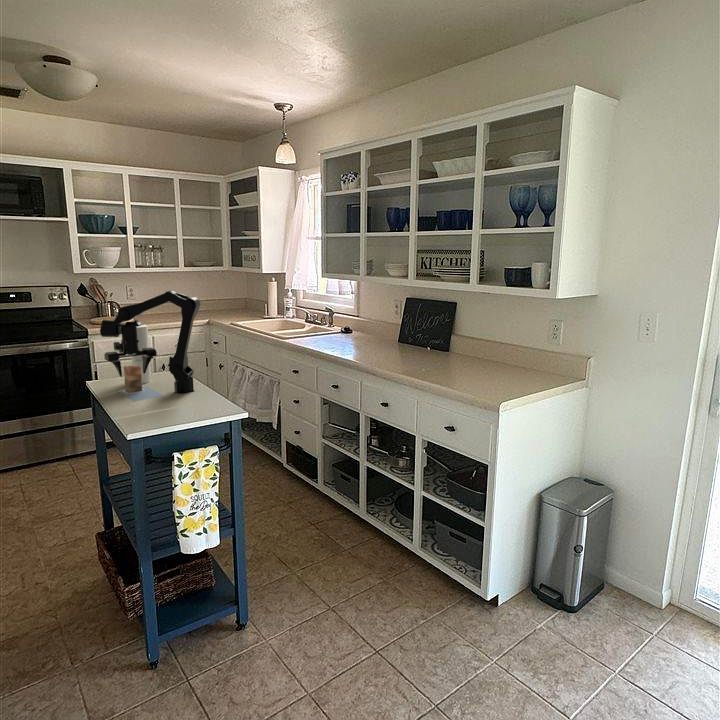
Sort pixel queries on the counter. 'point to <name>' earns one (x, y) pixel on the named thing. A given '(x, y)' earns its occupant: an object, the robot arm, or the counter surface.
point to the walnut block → (133, 386)
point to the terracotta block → (132, 372)
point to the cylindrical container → (137, 360)
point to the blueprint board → (142, 394)
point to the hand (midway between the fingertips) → (132, 375)
